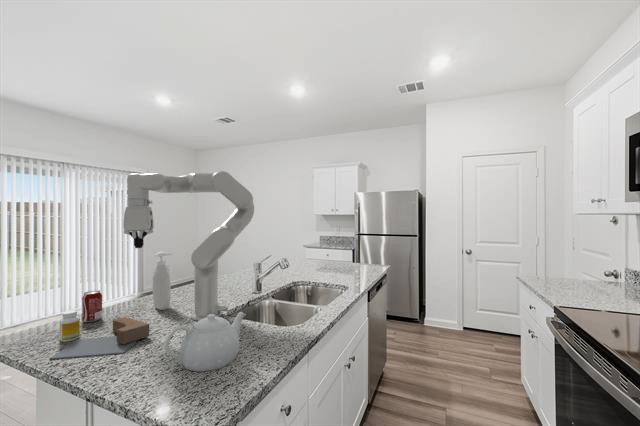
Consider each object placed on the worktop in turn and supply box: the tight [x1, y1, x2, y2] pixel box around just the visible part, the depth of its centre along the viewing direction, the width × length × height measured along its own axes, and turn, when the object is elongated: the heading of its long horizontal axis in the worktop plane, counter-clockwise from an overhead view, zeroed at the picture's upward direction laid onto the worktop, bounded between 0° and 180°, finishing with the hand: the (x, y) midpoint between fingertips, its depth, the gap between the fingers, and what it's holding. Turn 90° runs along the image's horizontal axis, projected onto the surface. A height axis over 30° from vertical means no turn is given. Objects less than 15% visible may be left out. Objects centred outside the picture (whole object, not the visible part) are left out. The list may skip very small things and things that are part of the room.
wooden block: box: [112, 316, 150, 345], centre depth 107 cm, size 9×4×18 cm
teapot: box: [164, 311, 247, 372], centre depth 90 cm, size 19×18×14 cm
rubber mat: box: [49, 335, 137, 361], centre depth 99 cm, size 21×14×1 cm, turn 100°
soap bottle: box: [151, 251, 173, 311], centre depth 140 cm, size 14×8×27 cm, turn 48°
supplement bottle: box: [59, 309, 81, 343], centre depth 105 cm, size 5×5×10 cm
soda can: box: [81, 289, 103, 323], centre depth 124 cm, size 7×7×12 cm
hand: (138, 247), depth 121 cm, fingers closed
